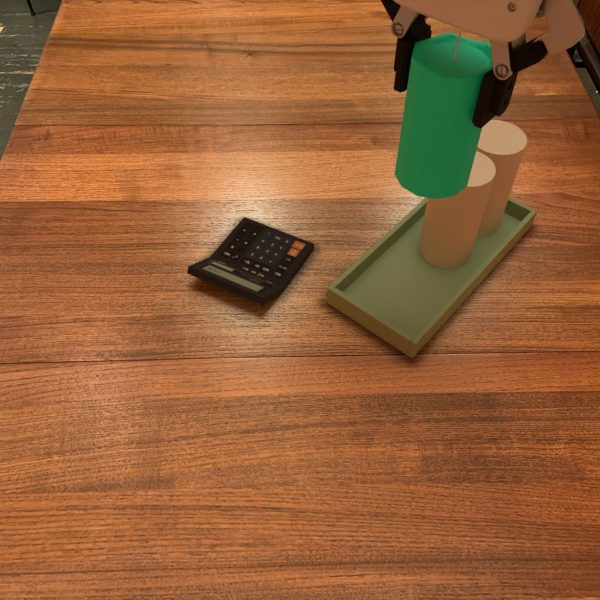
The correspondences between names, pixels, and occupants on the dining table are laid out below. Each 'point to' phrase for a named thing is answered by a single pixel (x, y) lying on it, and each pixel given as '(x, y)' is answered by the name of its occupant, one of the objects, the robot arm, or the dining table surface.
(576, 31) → the robot arm
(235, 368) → the dining table surface
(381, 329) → the tray
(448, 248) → the cream candle
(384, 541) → the dining table surface
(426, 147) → the candle
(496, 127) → the cream candle
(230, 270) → the calculator
